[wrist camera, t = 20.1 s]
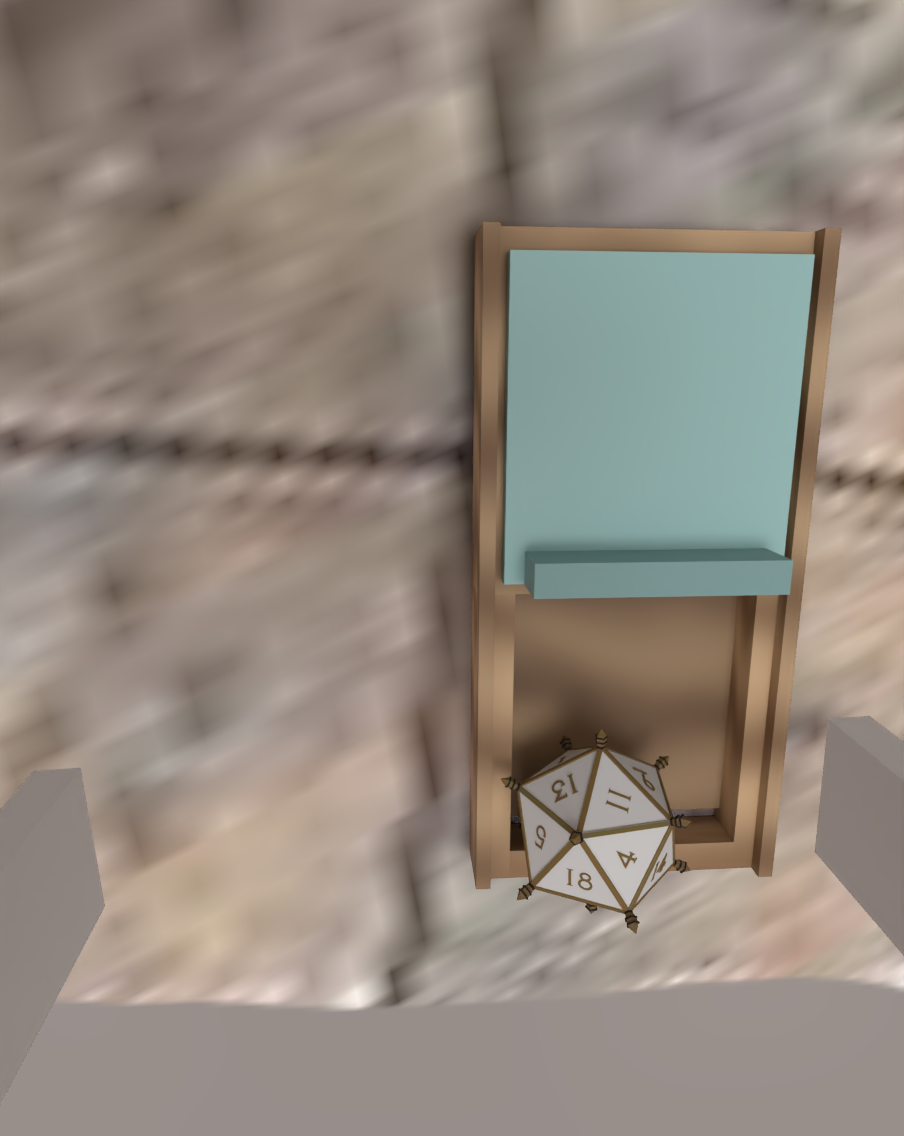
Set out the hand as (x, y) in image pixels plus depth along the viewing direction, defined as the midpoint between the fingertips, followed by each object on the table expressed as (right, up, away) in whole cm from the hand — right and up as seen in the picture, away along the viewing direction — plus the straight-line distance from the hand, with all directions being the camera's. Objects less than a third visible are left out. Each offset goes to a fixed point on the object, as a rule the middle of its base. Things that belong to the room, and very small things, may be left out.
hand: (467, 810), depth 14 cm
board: (+8, +4, +25) cm, 26 cm away
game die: (+7, -4, +24) cm, 25 cm away
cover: (+8, +11, +21) cm, 25 cm away
